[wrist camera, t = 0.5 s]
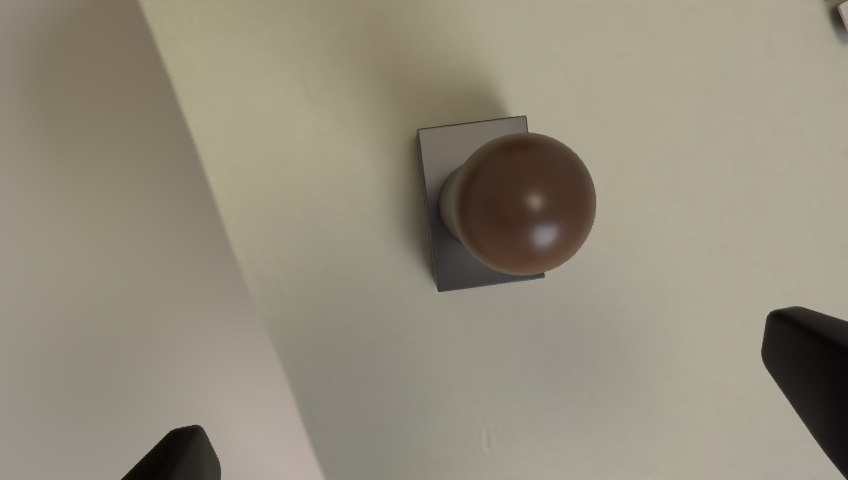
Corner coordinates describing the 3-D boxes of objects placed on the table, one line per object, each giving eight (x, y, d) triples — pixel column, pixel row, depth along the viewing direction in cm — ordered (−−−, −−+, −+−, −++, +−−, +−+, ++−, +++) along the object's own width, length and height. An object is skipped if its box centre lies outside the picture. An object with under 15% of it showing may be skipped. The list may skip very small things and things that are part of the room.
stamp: (532, 271, 21) (648, 332, 11) (435, 284, 21) (462, 358, 11) (514, 123, 21) (619, 46, 11) (416, 136, 21) (425, 70, 11)
